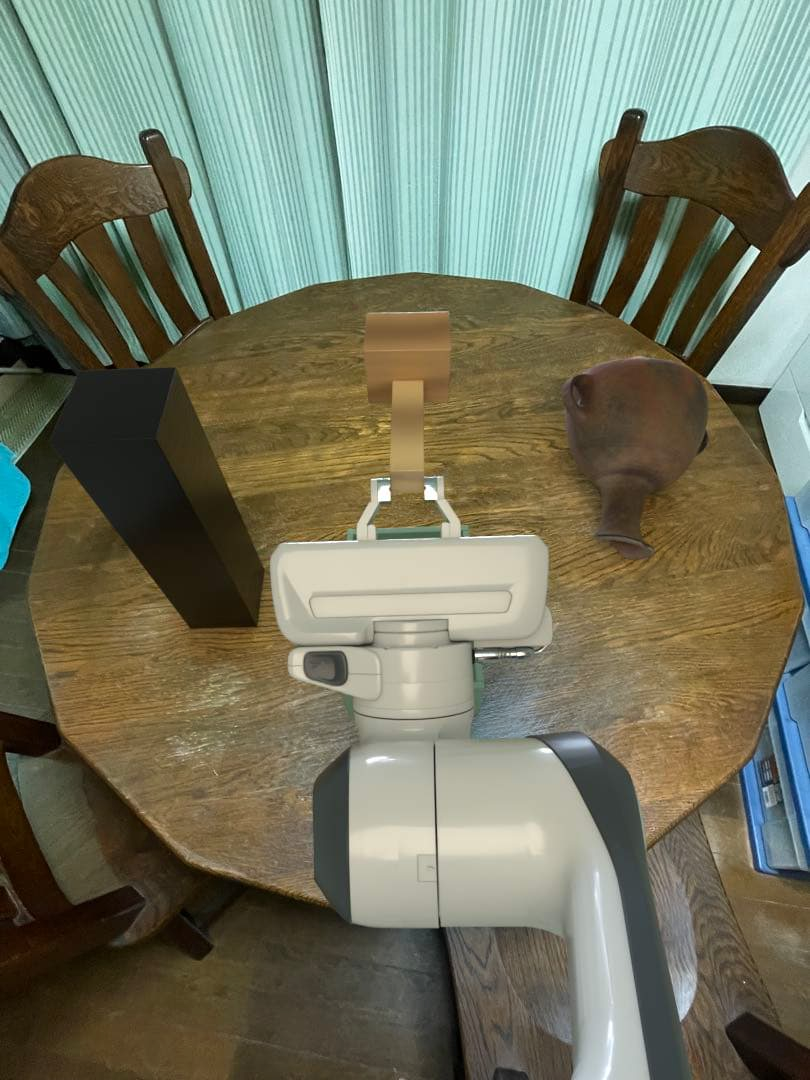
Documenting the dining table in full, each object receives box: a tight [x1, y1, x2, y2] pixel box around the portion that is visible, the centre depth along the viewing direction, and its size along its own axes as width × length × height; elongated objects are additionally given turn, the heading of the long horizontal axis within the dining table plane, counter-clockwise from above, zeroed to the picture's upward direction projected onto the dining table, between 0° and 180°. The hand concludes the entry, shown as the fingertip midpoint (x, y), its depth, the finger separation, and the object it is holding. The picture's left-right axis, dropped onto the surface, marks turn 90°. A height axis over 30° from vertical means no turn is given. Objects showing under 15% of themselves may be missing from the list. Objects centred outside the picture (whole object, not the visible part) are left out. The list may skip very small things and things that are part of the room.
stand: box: [48, 366, 265, 630], centre depth 67 cm, size 9×9×36 cm
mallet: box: [362, 311, 452, 494], centre depth 48 cm, size 15×7×6 cm, turn 179°
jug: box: [561, 355, 709, 561], centre depth 83 cm, size 20×20×30 cm
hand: (406, 478), depth 44 cm, fingers closed on mallet, 2 cm apart
